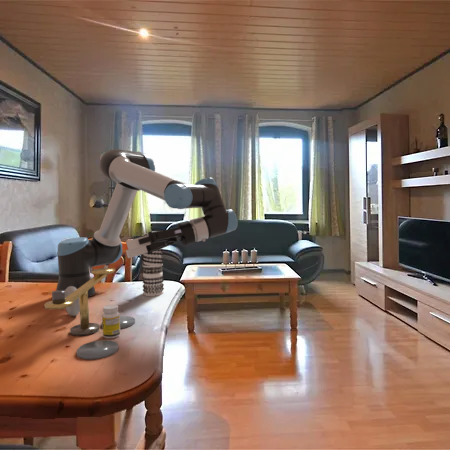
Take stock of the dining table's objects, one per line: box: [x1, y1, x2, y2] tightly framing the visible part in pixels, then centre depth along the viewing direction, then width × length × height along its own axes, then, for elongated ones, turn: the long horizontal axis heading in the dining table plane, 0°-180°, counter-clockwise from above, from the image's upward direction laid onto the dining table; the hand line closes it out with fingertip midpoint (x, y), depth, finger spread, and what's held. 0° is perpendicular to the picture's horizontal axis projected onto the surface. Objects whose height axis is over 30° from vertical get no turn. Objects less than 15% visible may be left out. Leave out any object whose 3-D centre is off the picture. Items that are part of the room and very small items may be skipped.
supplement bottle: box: [101, 304, 121, 339], centre depth 101 cm, size 5×5×8 cm
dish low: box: [76, 339, 119, 361], centre depth 90 cm, size 10×10×1 cm
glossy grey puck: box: [101, 315, 136, 330], centre depth 111 cm, size 10×10×1 cm
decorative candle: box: [140, 232, 165, 297], centre depth 147 cm, size 9×9×25 cm
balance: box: [44, 267, 116, 337], centre depth 104 cm, size 8×26×16 cm, turn 162°
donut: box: [65, 286, 80, 317], centre depth 119 cm, size 10×4×10 cm, turn 40°
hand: (126, 250), depth 108 cm, fingers open, 13 cm apart
